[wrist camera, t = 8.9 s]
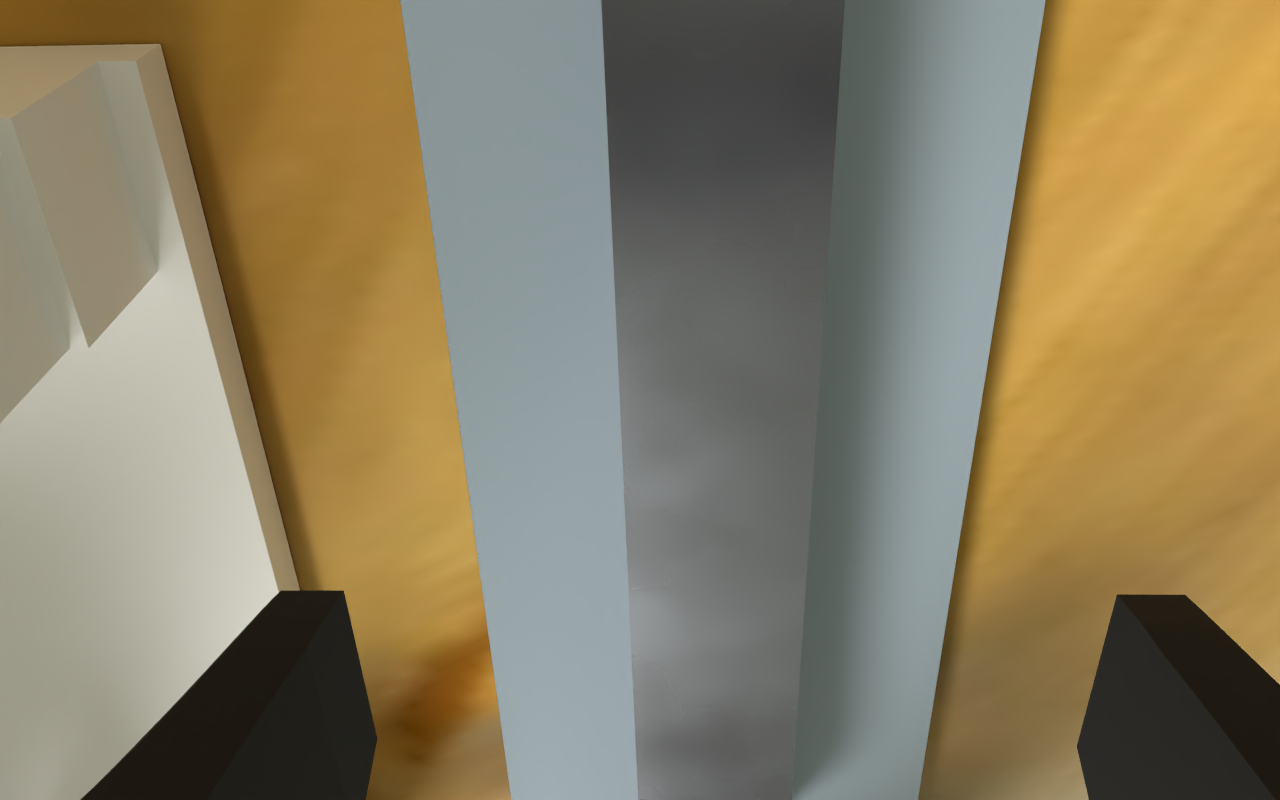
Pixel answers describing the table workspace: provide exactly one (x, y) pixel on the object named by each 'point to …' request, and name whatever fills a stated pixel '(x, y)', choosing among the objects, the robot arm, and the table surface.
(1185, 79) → the table surface
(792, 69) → the rail
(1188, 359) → the table surface
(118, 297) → the hook stands
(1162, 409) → the table surface
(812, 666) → the mat
